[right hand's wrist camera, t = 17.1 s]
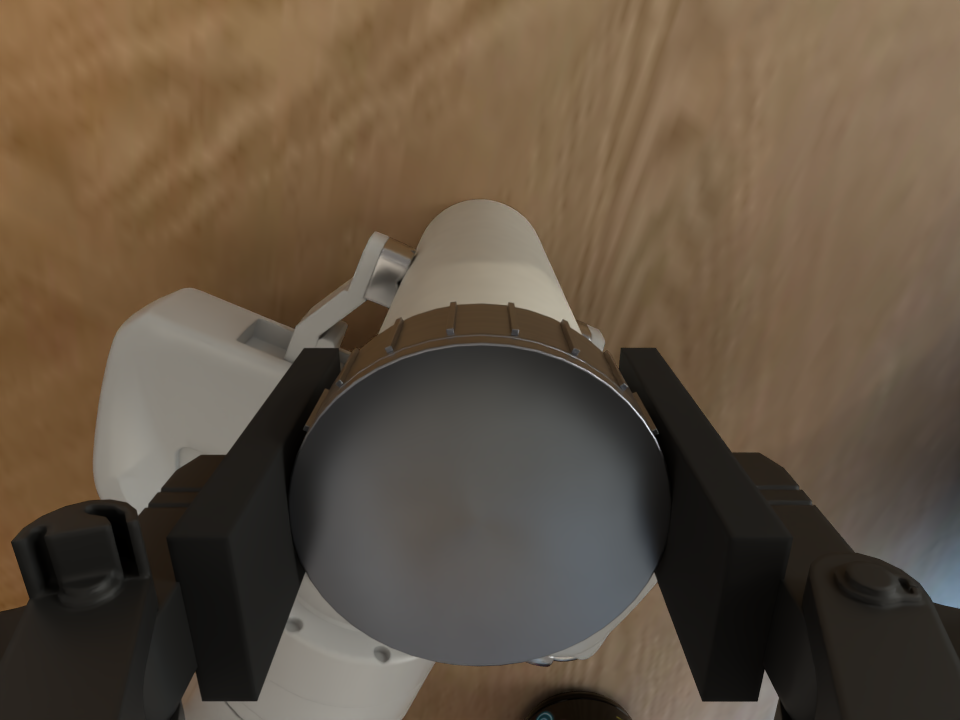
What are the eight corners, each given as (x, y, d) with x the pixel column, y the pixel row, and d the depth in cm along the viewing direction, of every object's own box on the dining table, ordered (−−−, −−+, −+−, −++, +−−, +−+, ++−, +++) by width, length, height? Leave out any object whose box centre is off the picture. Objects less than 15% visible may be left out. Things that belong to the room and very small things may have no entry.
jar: (505, 344, 28) (540, 656, 12) (395, 290, 27) (276, 551, 11) (566, 236, 27) (700, 435, 10) (451, 175, 26) (402, 290, 10)
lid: (663, 301, 11) (702, 342, 9) (628, 590, 13) (652, 671, 11) (300, 297, 11) (262, 337, 9) (327, 587, 13) (302, 668, 11)
